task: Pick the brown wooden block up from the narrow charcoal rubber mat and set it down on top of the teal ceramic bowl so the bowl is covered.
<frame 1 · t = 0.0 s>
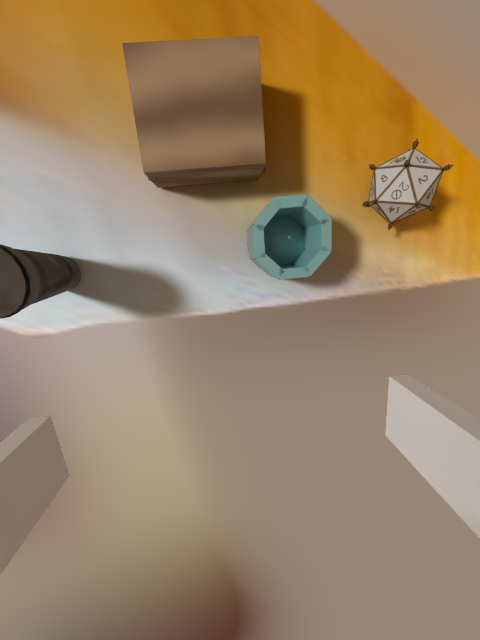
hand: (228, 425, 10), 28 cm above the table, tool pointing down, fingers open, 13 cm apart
brown wooden block: (203, 134, 31), resting on mat
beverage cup: (64, 272, 35), on the table
bowl: (279, 241, 35), on the table
game die: (381, 195, 35), on the table
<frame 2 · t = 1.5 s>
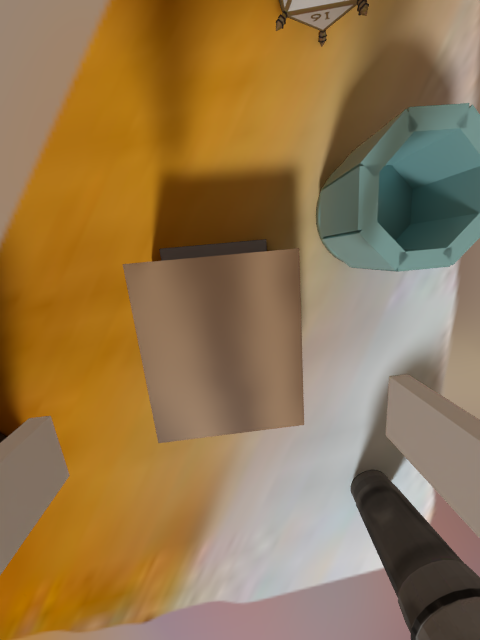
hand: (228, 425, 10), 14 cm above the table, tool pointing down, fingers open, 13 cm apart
brown wooden block: (222, 329, 23), resting on mat
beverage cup: (368, 484, 30), on the table
bowl: (366, 212, 22), on the table
mat: (222, 327, 24), on the table
game die: (305, 1, 18), on the table
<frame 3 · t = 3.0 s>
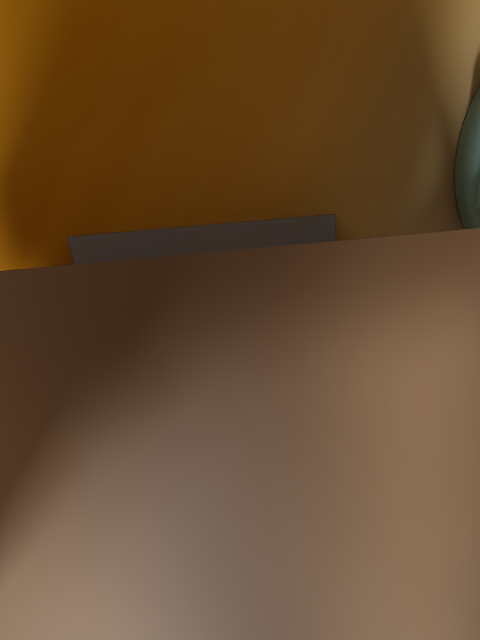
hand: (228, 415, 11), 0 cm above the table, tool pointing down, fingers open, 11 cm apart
brown wooden block: (227, 418, 10), resting on mat, touching gripper
mat: (226, 412, 11), on the table
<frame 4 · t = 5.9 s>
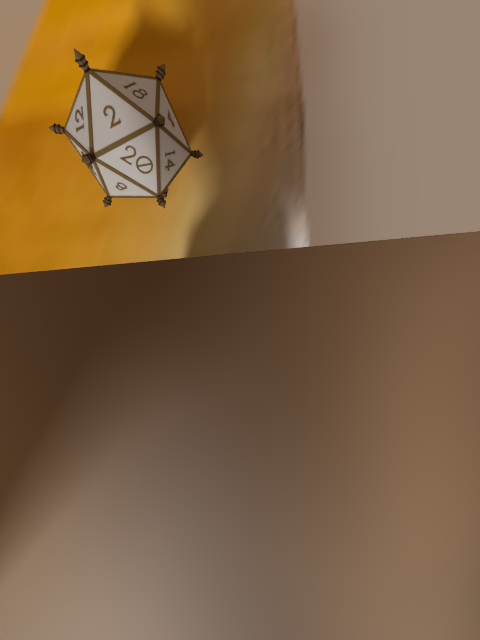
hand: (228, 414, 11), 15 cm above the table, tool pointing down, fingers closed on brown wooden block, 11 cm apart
brown wooden block: (228, 419, 10), point 16 cm above the table, touching gripper
game die: (148, 163, 22), on the table
when the fingers open (8 cm above the table, at t = 7.6 s): brown wooden block drops 2 cm, resting on bowl.
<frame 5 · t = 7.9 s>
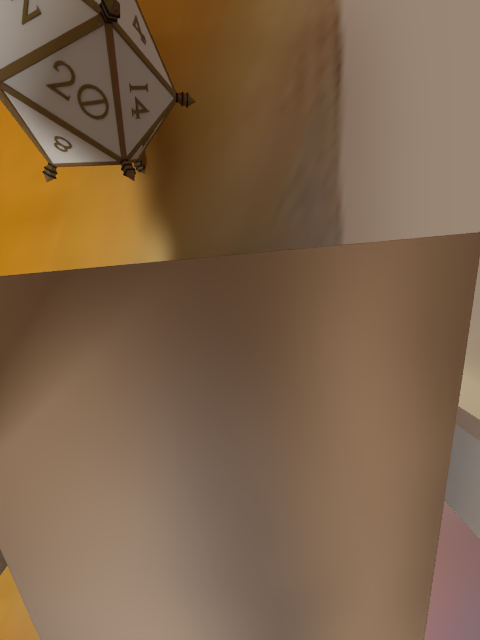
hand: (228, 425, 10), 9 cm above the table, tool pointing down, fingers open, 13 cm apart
brown wooden block: (227, 396, 12), point 7 cm above the table, touching bowl
game die: (118, 123, 15), on the table
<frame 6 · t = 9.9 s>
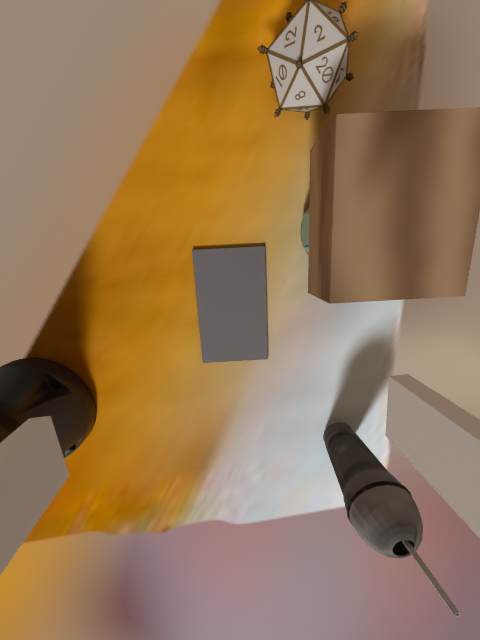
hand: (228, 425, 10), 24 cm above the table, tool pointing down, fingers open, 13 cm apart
brown wooden block: (365, 223, 25), point 7 cm above the table, touching bowl
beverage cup: (337, 434, 39), on the table
mat: (232, 307, 33), on the table
game die: (297, 91, 28), on the table
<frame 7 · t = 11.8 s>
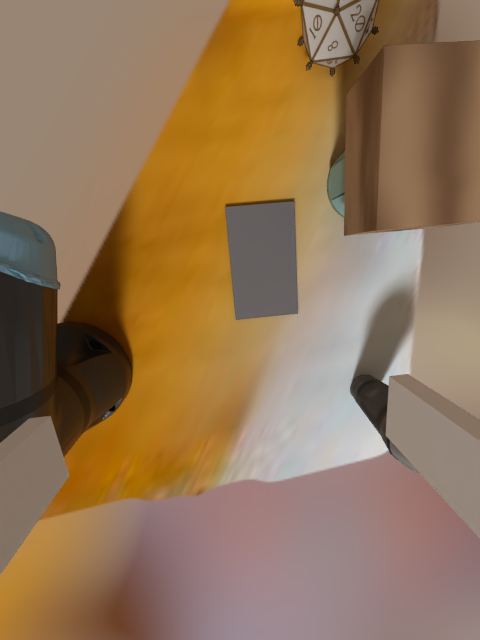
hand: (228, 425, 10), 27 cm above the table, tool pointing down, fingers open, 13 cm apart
brown wooden block: (396, 165, 26), point 7 cm above the table, touching bowl
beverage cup: (363, 386, 41), on the table
bowl: (360, 183, 33), on the table
mat: (263, 263, 35), on the table
game die: (322, 49, 29), on the table
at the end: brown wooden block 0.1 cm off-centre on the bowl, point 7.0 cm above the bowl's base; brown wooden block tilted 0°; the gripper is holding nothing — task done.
